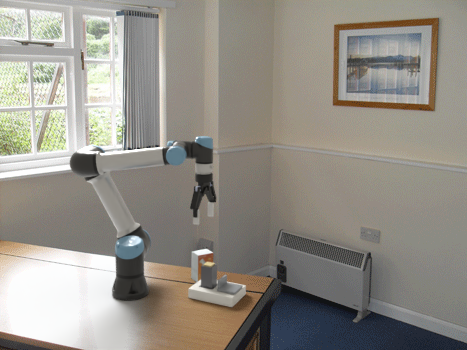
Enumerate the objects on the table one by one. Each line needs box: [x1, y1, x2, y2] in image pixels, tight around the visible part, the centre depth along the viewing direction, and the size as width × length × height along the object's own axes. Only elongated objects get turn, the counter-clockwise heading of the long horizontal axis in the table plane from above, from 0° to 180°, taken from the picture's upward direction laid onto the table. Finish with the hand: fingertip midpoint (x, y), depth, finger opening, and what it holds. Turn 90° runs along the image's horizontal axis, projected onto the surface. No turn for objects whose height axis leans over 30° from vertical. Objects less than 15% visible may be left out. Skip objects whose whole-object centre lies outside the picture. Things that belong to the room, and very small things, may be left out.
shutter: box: [217, 274, 244, 294], centre depth 220 cm, size 8×8×4 cm
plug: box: [201, 262, 218, 289], centre depth 223 cm, size 5×5×13 cm
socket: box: [187, 279, 247, 308], centre depth 223 cm, size 20×14×4 cm
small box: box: [190, 248, 214, 283], centre depth 239 cm, size 8×6×13 cm
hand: (203, 220), depth 231 cm, fingers open, 13 cm apart
